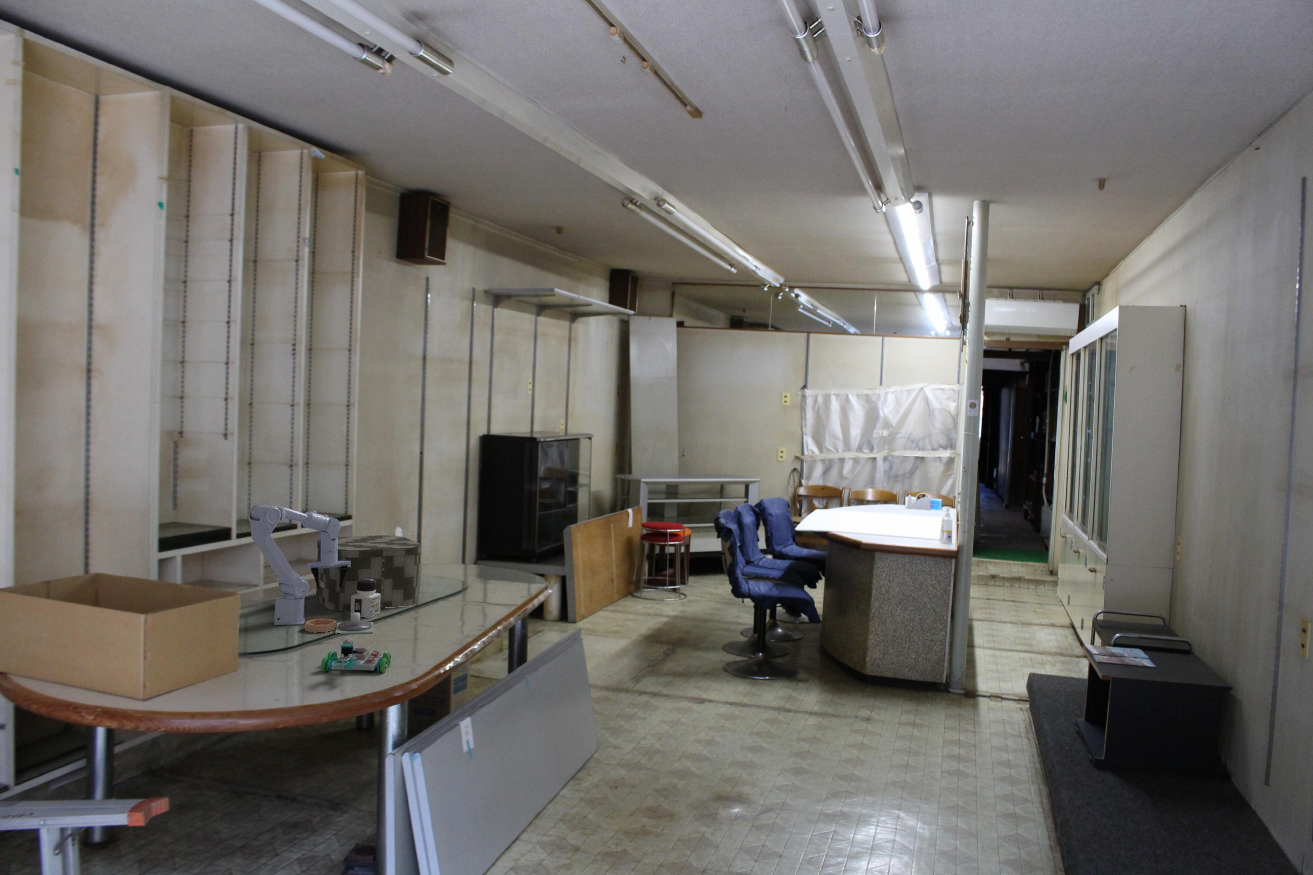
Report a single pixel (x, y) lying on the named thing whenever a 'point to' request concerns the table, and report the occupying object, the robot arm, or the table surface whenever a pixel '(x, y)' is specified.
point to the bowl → (320, 625)
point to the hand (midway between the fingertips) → (329, 587)
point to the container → (366, 599)
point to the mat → (354, 631)
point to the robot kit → (356, 659)
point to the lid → (355, 624)
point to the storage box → (372, 571)
